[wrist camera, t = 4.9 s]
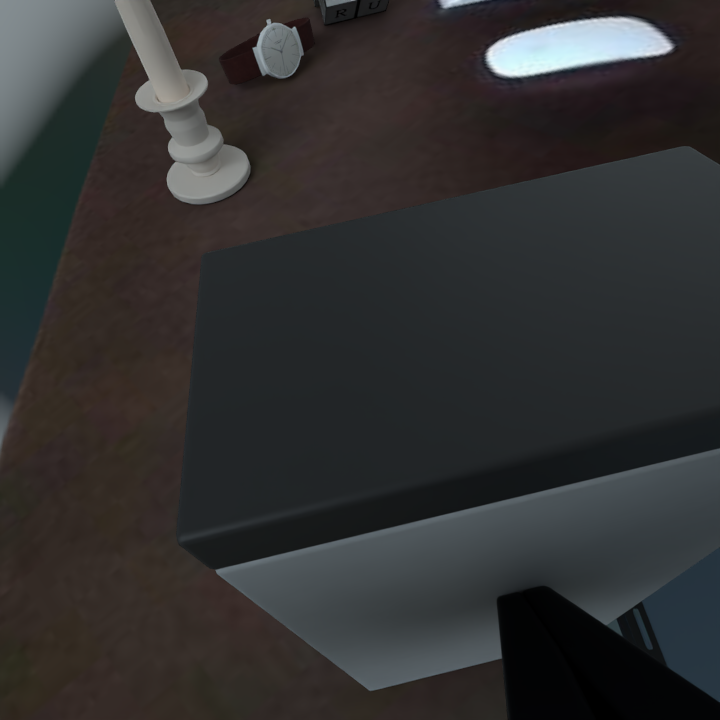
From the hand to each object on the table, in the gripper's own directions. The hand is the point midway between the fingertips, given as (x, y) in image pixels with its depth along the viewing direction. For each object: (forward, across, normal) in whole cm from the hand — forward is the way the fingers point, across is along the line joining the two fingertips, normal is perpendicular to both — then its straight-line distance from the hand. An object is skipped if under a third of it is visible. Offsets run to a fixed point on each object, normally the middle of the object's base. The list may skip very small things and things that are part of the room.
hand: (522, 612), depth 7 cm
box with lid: (+6, 0, +6) cm, 8 cm away
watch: (+33, +2, -20) cm, 39 cm away
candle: (+25, +8, -12) cm, 29 cm away
